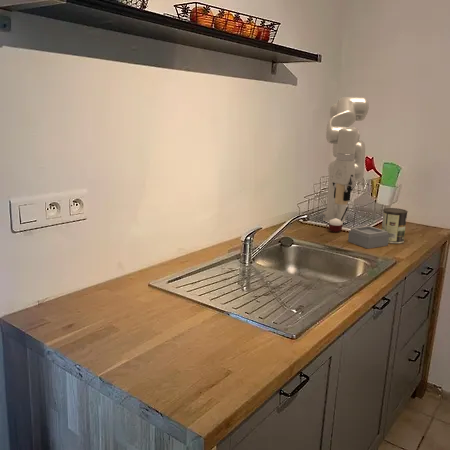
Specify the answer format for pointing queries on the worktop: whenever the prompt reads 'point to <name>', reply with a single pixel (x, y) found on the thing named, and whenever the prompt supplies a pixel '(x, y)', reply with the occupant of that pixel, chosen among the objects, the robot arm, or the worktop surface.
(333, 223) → the cocoa
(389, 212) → the coffee can
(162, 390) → the worktop surface
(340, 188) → the candle
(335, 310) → the worktop surface
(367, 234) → the pedestal
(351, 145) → the robot arm
